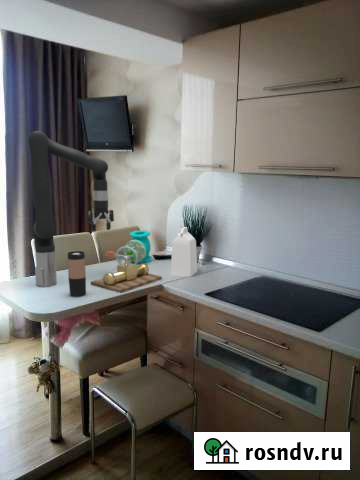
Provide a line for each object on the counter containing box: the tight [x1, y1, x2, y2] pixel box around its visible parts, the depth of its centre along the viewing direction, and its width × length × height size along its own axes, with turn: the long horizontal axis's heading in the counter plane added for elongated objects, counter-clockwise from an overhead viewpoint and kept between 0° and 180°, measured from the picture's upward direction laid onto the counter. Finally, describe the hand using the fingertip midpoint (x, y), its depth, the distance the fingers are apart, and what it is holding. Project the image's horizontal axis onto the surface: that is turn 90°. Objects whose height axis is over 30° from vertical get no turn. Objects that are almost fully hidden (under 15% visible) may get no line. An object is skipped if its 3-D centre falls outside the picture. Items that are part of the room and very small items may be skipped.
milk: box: [170, 226, 198, 278], centre depth 217 cm, size 12×12×26 cm
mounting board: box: [90, 273, 163, 294], centre depth 202 cm, size 30×22×2 cm
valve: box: [115, 230, 152, 266], centre depth 239 cm, size 14×18×30 cm
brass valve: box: [102, 259, 149, 286], centre depth 201 cm, size 28×7×11 cm, turn 142°
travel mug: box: [67, 250, 87, 298], centre depth 180 cm, size 8×8×20 cm
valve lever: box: [105, 250, 130, 260], centre depth 204 cm, size 3×16×3 cm, turn 52°
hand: (101, 230), depth 204 cm, fingers open, 8 cm apart
